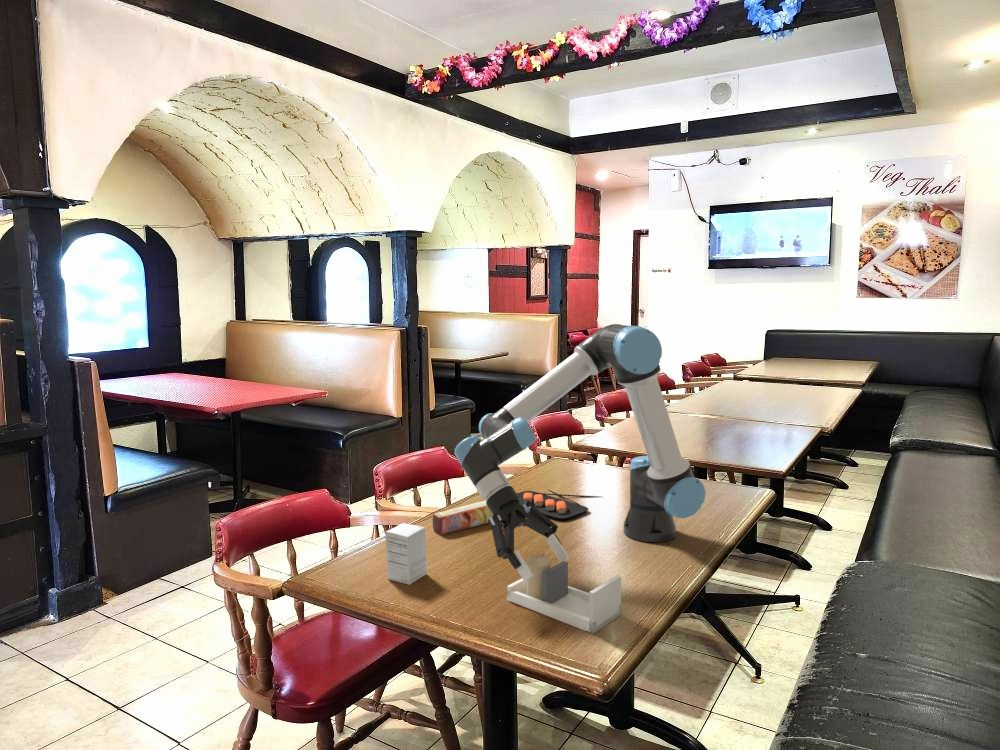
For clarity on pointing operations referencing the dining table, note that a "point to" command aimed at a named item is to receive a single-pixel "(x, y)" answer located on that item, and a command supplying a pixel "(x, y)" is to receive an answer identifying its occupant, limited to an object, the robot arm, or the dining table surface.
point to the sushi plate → (553, 504)
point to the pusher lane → (575, 604)
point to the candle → (536, 574)
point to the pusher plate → (555, 582)
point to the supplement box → (406, 553)
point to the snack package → (461, 518)
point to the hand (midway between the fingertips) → (547, 569)
